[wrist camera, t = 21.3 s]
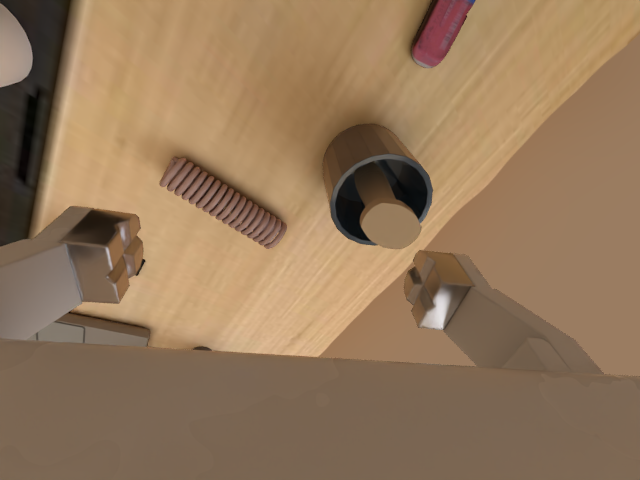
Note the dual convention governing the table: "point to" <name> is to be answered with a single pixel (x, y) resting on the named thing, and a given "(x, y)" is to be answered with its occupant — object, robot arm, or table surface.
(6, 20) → the cylinder with rectangular tab
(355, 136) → the open cylindrical bucket
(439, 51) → the eraser
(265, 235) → the coil
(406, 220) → the handle
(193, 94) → the table surface
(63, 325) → the laptop
